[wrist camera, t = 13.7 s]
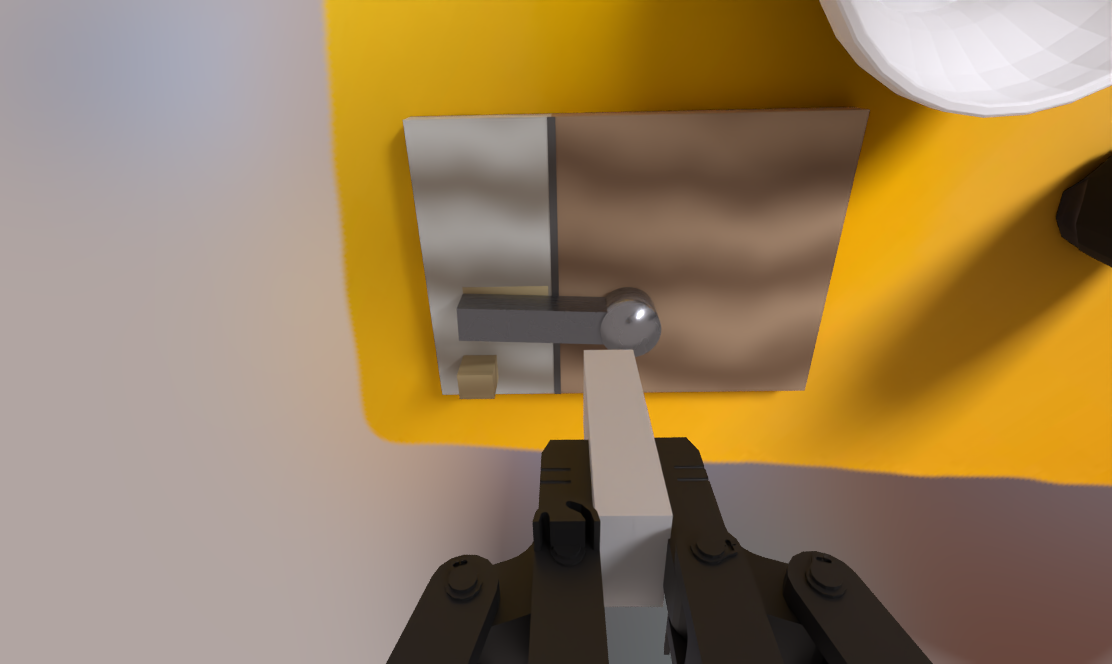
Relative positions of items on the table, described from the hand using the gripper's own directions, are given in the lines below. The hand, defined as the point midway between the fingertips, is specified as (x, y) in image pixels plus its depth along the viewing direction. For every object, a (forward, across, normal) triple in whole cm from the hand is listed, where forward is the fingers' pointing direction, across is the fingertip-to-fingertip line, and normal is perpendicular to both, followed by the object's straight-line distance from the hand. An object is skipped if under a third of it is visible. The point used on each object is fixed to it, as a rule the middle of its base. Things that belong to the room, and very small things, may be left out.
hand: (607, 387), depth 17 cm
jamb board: (+22, +3, -4) cm, 23 cm away
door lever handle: (+20, -2, -7) cm, 21 cm away
